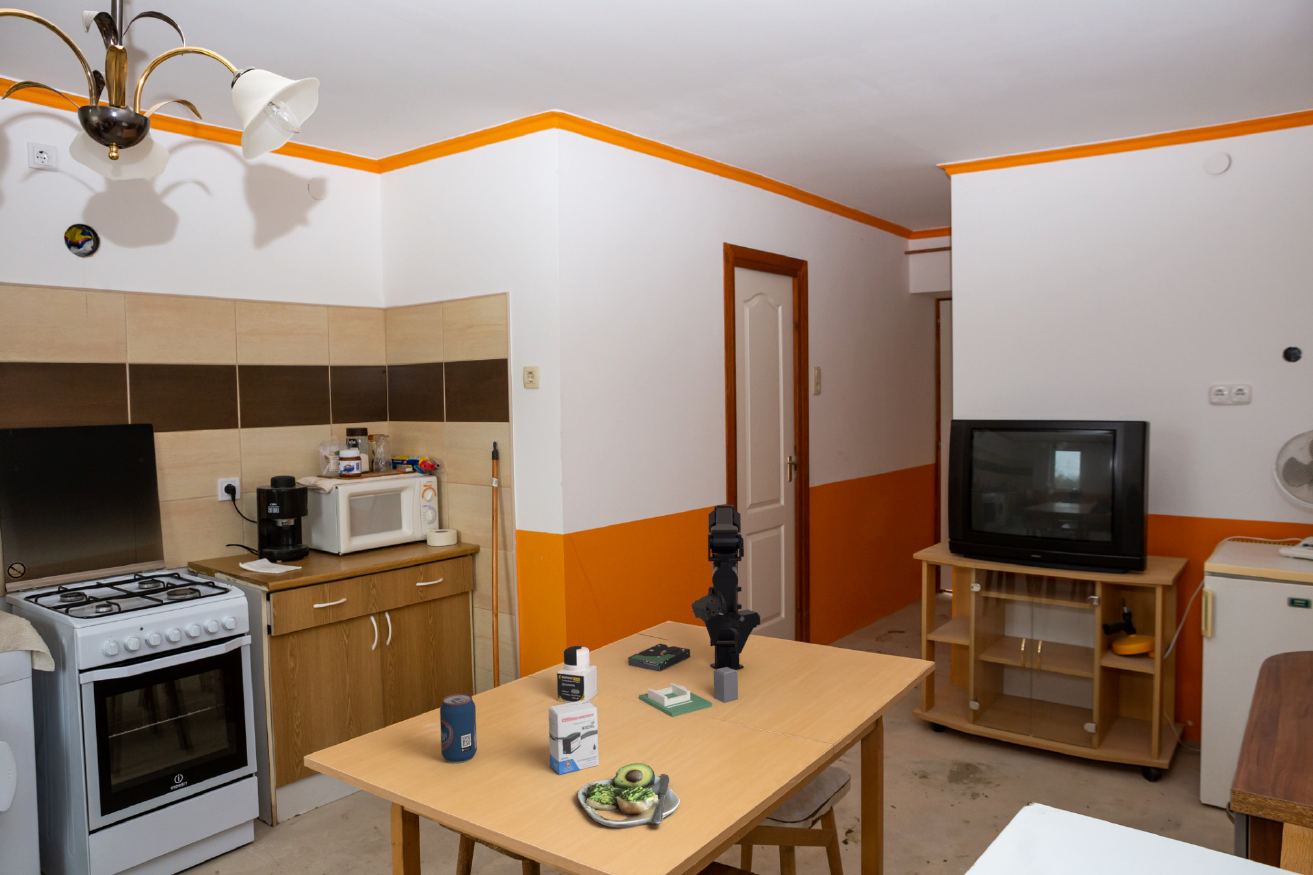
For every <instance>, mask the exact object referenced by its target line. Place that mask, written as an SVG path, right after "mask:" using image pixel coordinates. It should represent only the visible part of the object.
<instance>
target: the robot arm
mask: <svg viewBox="0 0 1313 875" xmlns="http://www.w3.org/2000/svg"><path fill="white" fill-rule="evenodd" d="M707 517H708V519H707V520H708V521H707V522H708V524H707V526H708V528H707V529H708V534H707V560H708V561H707V562H712V575H711V576H712V578H711V582H712V586H709V587H708V590H707V591H708V593H707V595H704V596H702V597H700V598H699V599H697V600H694V602H692V604H691V608H692V613H693V615H694V617H695V618H696V619H700V620H702V621H703V622H704V623H703V624H704V625H705V628H706V630H707V633H708V636H709V642H710V643H709V645H710V647H714V663H710V664H709V666H710V668H714V669H720V668H725V667H728V668H730V669H733V670H735V671H737V670H740V669H744V667H745V666H744V665H743V664H741V663H740V654H742V652H743V650H744V647H745V645H746V644H747V641H748V639H749V638H750V636H751V633H752V632H753V630H754V628H757V626H760V625H761V614H759V613H758V612H757V611H754V610H751V609H743V610H742V607H743V605H742V603H739V599H738V598H739V593H740V592H742V586H739V584H738V583H739V575H738V562H742V558H744V557H745V546H744V545H745V544H744V543H745V542H744V538H743V536H742V530H741V529H742V525H741V521H742V519H741V518H742V517H741V513H739V512H738V511H737V510H735V506H734V505H732V504H717V505H714V509H713V510H712V511H711V512H709V513H708V516H707Z"/></svg>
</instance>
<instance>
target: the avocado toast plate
mask: <svg viewBox="0 0 1313 875" xmlns="http://www.w3.org/2000/svg"><path fill="white" fill-rule="evenodd" d="M669 784H670V776H669V775H668V774H666V773H661V774H660V775H659V776H658V775H655V771H654V770H653V768H652V767H651V766H650V765H648V764H645V763H641V762H639V763H638V762H635V763H629V764H625V765H624V766H622V767H620V768H619V769H618V770H617V771H616V772H615V776H614V777H613V778H608V779H603V780H598V781H597V780H596V781H592V782H589V783H586V784H584V785H583V786H581V787H580V789H578V791H577V801H578V804H579V806H580V807H581V808H582V809H584V811H585V812H586V814H587V815H588V816H589V817H590V818H592V819H593V820H594V821H595V822H596V823H598V824H599V823H600V824H601V825H603V826H606V827H609V828H616V829H617V828H618V829H627V828H629V829H630V828H635V827H638V826H639V827H640V826H643V825H651V824H653V825H660V824H662V823H663V821H664V820H663V819H664V818H665V817H667V816H669V815H671V814H673V813H674V812H675V811H676V810H677V808H678V807H679V806H680V802H681V801H680V798H679V796H678V795H677V794H676V793H675V792H674V791H673V790H672V789H671V788H670V787H669ZM597 811H613V812H615V811H616V812H619V813H622V814H623V816H625V817H626V818H624V819H621V820H616V819H615V820H614V819H610V818H606V817H604V816H602V815H600V814H599V813H598V812H597Z"/></svg>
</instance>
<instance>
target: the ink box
mask: <svg viewBox="0 0 1313 875" xmlns="http://www.w3.org/2000/svg"><path fill="white" fill-rule="evenodd" d="M598 728H599V727H598V706H596V705H595V704H594V703H592V701H591V700H582V701H577V702H572V703H570V702H565V703H563V704H557V705H551V706H550V707H548V734H549V736H548V738H549V740H548V741H549V744H548V746H549V766H550V768H551V769H553V771H554V772H556V773H557V775H559V776H561V775H565V774H569V773H572V772H577V771H581V770H585V769H586V770H587V769H590V768H592V767H596V766H597V767H598V766H599V764H600V763H599V729H598Z"/></svg>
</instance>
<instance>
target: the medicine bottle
mask: <svg viewBox="0 0 1313 875" xmlns="http://www.w3.org/2000/svg"><path fill="white" fill-rule="evenodd" d="M590 658H591V657H590V650H589V648H588V647H586V646H583V645H582V646H581V645H572V646H569V647H567V648H565V649H564V651H563V667H562V668H561V669H560V670H558V671H557V673H556V685H557V690H556V691H557V701H558V702H562V703H563V702H564V703H572V702H577V701H582V700H589V701H591V700H592V699H593V698H594V697H596V696H597V695H598V667H597V665H593V664H592V665H591V662H590V660H591V659H590Z"/></svg>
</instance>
